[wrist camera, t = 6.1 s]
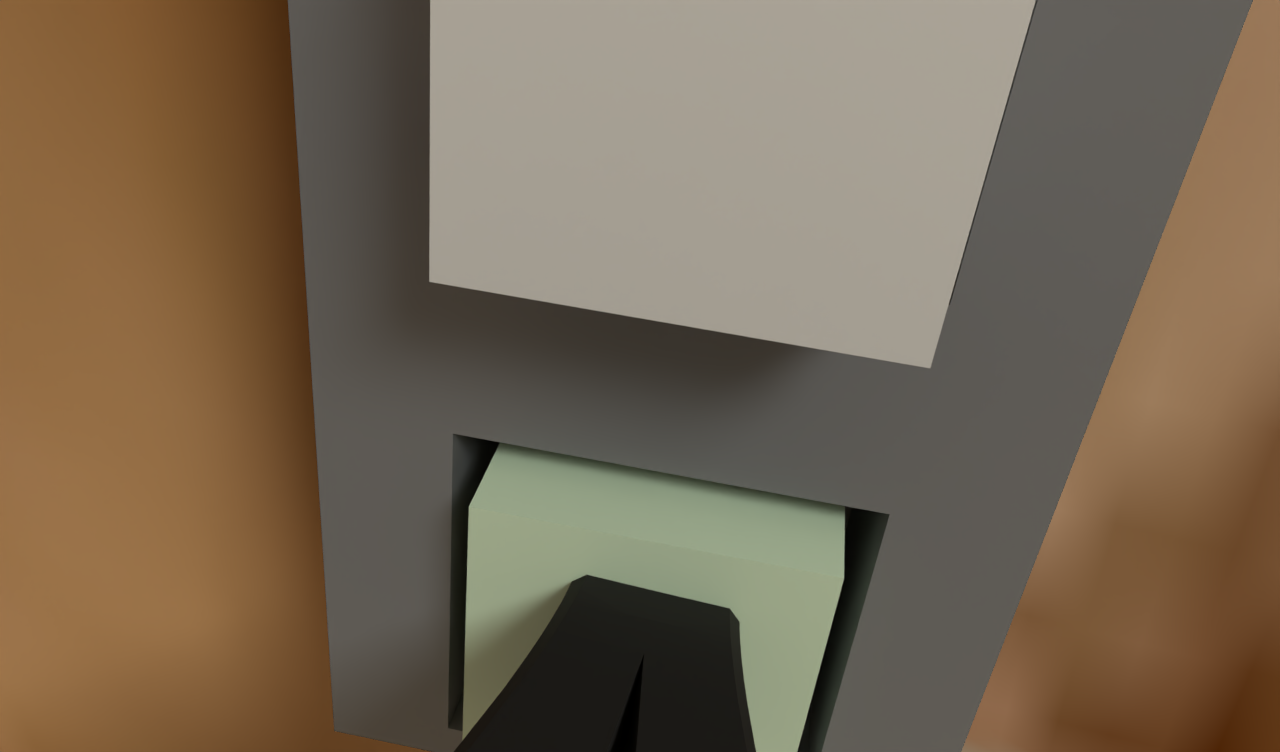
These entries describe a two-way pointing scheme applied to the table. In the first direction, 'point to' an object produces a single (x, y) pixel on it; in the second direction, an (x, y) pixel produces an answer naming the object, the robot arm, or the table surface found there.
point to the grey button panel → (734, 374)
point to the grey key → (720, 159)
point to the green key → (651, 569)
